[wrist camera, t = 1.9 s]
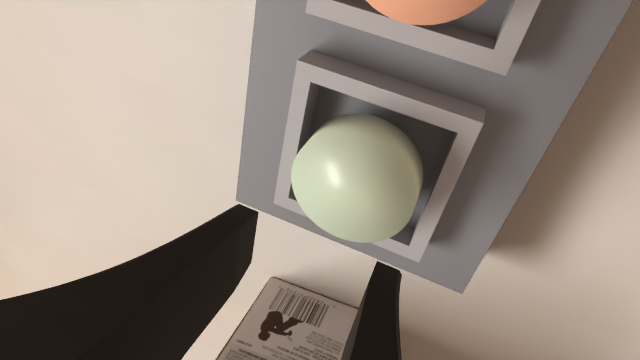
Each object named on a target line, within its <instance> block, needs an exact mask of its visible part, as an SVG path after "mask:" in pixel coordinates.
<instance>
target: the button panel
mask: <svg viewBox="0 0 640 360" xmlns="http://www.w3.org/2000/svg"><path fill="white" fill-rule="evenodd" d="M632 1H633V0H487V1H486V2H484V3H483V4H482V5H480V6H479V7H478V8H476V9H475V10H473V11H471V12H470V13H468V14H467V15H464V16H462V17H460V18H458V19H455V20H452V21H449V22H446V23H441V24H435V25H413V24H407V23H403V22H399V21H397V20H394V19H391V18H389V17H387V16H385V15H384V14H382V13H380V12H379V11H377V10H376V9H375V8H373V7H372V6H371V5H370V4H369V3H368V2H367V1H366V0H256V9H255V19H254V29H253V38H252V48H251V58H250V68H249V77H248V87H247V97H246V107H245V117H244V126H243V136H242V146H241V156H240V165H239V175H238V185H237V195H236V201H239V202H241V203H243V204H246V205H248V206H251V207H253V208H256V209H258V210H260V211H263V212H265V213H268V214H270V215H272V216H275V217H277V218H280V219H282V220H285V221H287V222H289V223H292V224H294V225H297V226H299V227H302V228H304V229H306V230H309V231H311V232H314V233H316V234H318V235H321V236H323V237H326V238H328V239H331V240H333V241H335V242H338V243H340V244H343V245H345V246H348V247H350V248H352V249H355V250H357V251H360V252H362V253H364V254H367V255H369V256H372V257H374V258H377V259H379V260H381V261H384V262H386V263H389V264H391V265H394V266H396V267H398V268H401V269H403V270H406V271H408V272H410V273H413V274H415V275H418V276H420V277H423V278H425V279H427V280H430V281H432V282H435V283H437V284H440V285H442V286H444V287H447V288H449V289H452V290H454V291H456V292H459V293H461V294H462V293H463V292H464V290H465V288H466V287H467V285H468V283H469V281H470V280H471V278H472V276H473V274H474V273H475V271H476V269H477V268H478V266H479V264H480V262H481V261H482V259H483V257H484V256H485V254H486V252H487V250H488V249H489V247H490V245H491V244H492V242H493V240H494V238H495V237H496V235H497V233H498V231H499V230H500V228H501V226H502V225H503V223H504V221H505V219H506V218H507V216H508V214H509V213H510V211H511V209H512V207H513V206H514V204H515V202H516V201H517V199H518V197H519V195H520V194H521V192H522V190H523V189H524V187H525V185H526V183H527V182H528V180H529V178H530V176H531V175H532V173H533V171H534V170H535V168H536V166H537V164H538V163H539V161H540V159H541V158H542V156H543V154H544V152H545V151H546V149H547V147H548V146H549V144H550V142H551V140H552V139H553V137H554V135H555V134H556V132H557V130H558V128H559V127H560V125H561V123H562V121H563V120H564V118H565V116H566V115H567V113H568V111H569V109H570V108H571V106H572V104H573V103H574V101H575V99H576V97H577V96H578V94H579V92H580V91H581V89H582V87H583V85H584V84H585V82H586V80H587V79H588V77H589V75H590V73H591V72H592V70H593V68H594V66H595V65H596V63H597V61H598V60H599V58H600V56H601V54H602V53H603V51H604V49H605V48H606V46H607V44H608V42H609V41H610V39H611V37H612V36H613V34H614V32H615V30H616V29H617V27H618V25H619V23H620V22H621V20H622V18H623V17H624V15H625V13H626V11H627V10H628V8H629V6H630V5H631V3H632ZM353 113H359V114H368V115H373V116H376V117H379V118H382V119H384V120H386V121H388V122H390V123H392V124H393V125H395V126H396V127H398V128H399V129H400V130H402V131H403V132H404V133H405V134H406V135H407V136H408V137H409V139H410V140H411V141H412V142H413V144H414V145H415V147H416V148H417V150H418V153H419V155H420V157H421V161H422V164H423V184H422V188H421V191H420V194H419V197H418V199H417V202H416V205H415V208H414V211H413V214H412V216H411V218H410V220H409V222H408V223H407V224H406V226H405V227H404V228H403V229H402V230H401V231H400V232H398V233H397V234H395V235H394V236H392V237H390V238H388V239H385V240H382V241H377V242H370V243H359V242H352V241H348V240H344V239H341V238H338V237H336V236H334V235H332V234H330V233H328V232H326V231H324V230H323V229H321V228H320V227H319V226H317V225H316V224H315V223H314V222H313V221H312V220H311V219H310V218H309V217H308V216H307V215H306V214H305V213H304V211H303V210H302V209H301V207H300V205H299V203H298V202H297V200H296V197H295V195H294V192H293V188H292V183H291V171H292V166H293V162H294V160H295V157H296V155H297V154H298V152H299V151H300V149H301V148H302V147H303V146H304V145H305V144H306V142H307V141H308V140H309V139H310V138H311V137H312V135H313V134H314V133H315V132H316V131H317V130H318V129H319V128H320V126H322V125H323V124H324V123H325V122H327V121H329V120H330V119H332V118H335V117H337V116H340V115H345V114H353Z"/></svg>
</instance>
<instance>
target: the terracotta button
mask: <svg viewBox="0 0 640 360" xmlns="http://www.w3.org/2000/svg"><path fill="white" fill-rule="evenodd" d="M366 1H367V2H368V3H369V4H370V5H371V6H372V7H373V8H375V9H376V10H377V11H379V12H380V13H382V14H384V15H385V16H387V17H389V18H391V19H394V20H397V21H399V22H403V23H407V24H413V25H435V24H441V23H446V22H449V21H452V20H455V19H458V18H460V17H462V16H464V15H467V14H468V13H470V12H471V11H473V10H475V9H476V8H478V7H479V6H480V5H482V4H483V3H484V2H486V1H487V0H366Z"/></svg>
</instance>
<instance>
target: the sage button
mask: <svg viewBox="0 0 640 360" xmlns="http://www.w3.org/2000/svg"><path fill="white" fill-rule="evenodd" d="M291 183H292V188H293V192H294V195H295V197H296V200H297V202H298V203H299V205H300V207H301V209H302V210H303V211H304V213H305V214H306V215H307V216H308V217H309V218H310V219H311V220H312V221H313V222H314V223H315V224H316V225H317V226H319V227H320V228H321V229H323V230H324V231H326V232H328V233H330V234H332V235H334V236H336V237H338V238H341V239H344V240H348V241H352V242H359V243H370V242H377V241H382V240H385V239H388V238H390V237H392V236H394V235H395V234H397V233H398V232H400V231H401V230H402V229H403V228H404V227H405V226H406V224H407V223H408V222H409V220H410V218H411V216H412V214H413V211H414V208H415V205H416V202H417V199H418V197H419V194H420V191H421V188H422V184H423V164H422V161H421V157H420V155H419V153H418V150H417V148H416V147H415V145H414V144H413V142H412V141H411V140H410V139H409V137H408V136H407V135H406V134H405V133H404V132H403V131H402V130H400V129H399V128H398V127H396V126H395V125H393V124H392V123H390V122H388V121H386V120H384V119H382V118H379V117H376V116H373V115H368V114H359V113H353V114H345V115H340V116H337V117H335V118H332V119H330V120H329V121H327V122H325V123H324V124H323V125H322V126H320V128H319V129H318V130H317V131H316V132H315V133H314V134H313V135H312V137H311V138H310V139H309V140H308V141H307V142H306V144H305V145H304V146H303V147H302V148H301V149H300V151H299V152H298V154H297V155H296V157H295V160H294V162H293V166H292V171H291Z"/></svg>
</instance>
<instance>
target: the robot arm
mask: <svg viewBox="0 0 640 360" xmlns="http://www.w3.org/2000/svg"><path fill="white" fill-rule="evenodd" d="M257 219H258V212H257V211H255V210H252V209H250V208H247V207H245V206H243V205H240V204H238V205H236V206H234V207H232V208H230V209H229V210H227V211H225V212H223V213H222V214H220V215H218V216H216V217H215V218H213V219H211V220H210V221H208V222H206V223H204V224H202V225H201V226H199V227H197V228H195V229H193V230H191V231H190V232H188V233H186V234H184V235H182V236H180V237H178V238H176V239H174V240H173V241H171V242H169V243H167V244H164V245H162V246H160V247H158V248H156V249H154V250H152V251H150V252H147V253H145V254H143V255H141V256H139V257H137V258H134V259H132V260H130V261H127V262H125V263H122V264H120V265H117V266H115V267H112V268H109V269H107V270H104V271H101V272H99V273H96V274H93V275H90V276H87V277H84V278H81V279H78V280H75V281H71V282H68V283H65V284H62V285H59V286H55V287H52V288H48V289H44V290H40V291H36V292H32V293H29V294H24V295H20V296H16V297H12V298H7V299H3V300H0V360H181V359H182V358H183V356H184V355H185V354H186V352H187V351H188V350H189V348H190V347H191V346H192V345H193V343H194V342H195V341H196V339H197V338H198V337H199V336H200V334H201V333H202V332H203V331H204V329H205V328H206V327H207V325H208V324H209V323H210V322H211V320H212V319H213V318H214V317H215V315H216V314H217V313H218V311H219V310H220V309H221V308H222V306H223V305H224V304H225V302H226V301H227V300H228V298H229V297H230V296H231V295H232V293H233V292H234V290H235V289H236V287H237V285H238V284H239V282H240V280H241V279H242V277H243V275H244V274H245V272H246V270H247V269H248V267H249V265H250V264H251V260H252V253H253V246H254V239H255V232H256V225H257ZM401 277H402V275H401V273H400V271H399V270H397V269H395V268H392V267H390V266H388V265H385V264H383V263H380V262H378V261H377V263H376V265H375V268H374V270H373V273H372V275H371V278H370V280H369V283H368V286H367V288H366V291H365V293H364V296H363V299H362V301H361V304H360V307H359V309H358V312H357V314H356V317H355V320H354V322H353V325H352V327H351V330H350V333H349V335H348V338H347V340H346V343H345V347H344V350H343V353H342V357H341V360H402V358H401V347H400V331H399V292H400V282H401Z"/></svg>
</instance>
